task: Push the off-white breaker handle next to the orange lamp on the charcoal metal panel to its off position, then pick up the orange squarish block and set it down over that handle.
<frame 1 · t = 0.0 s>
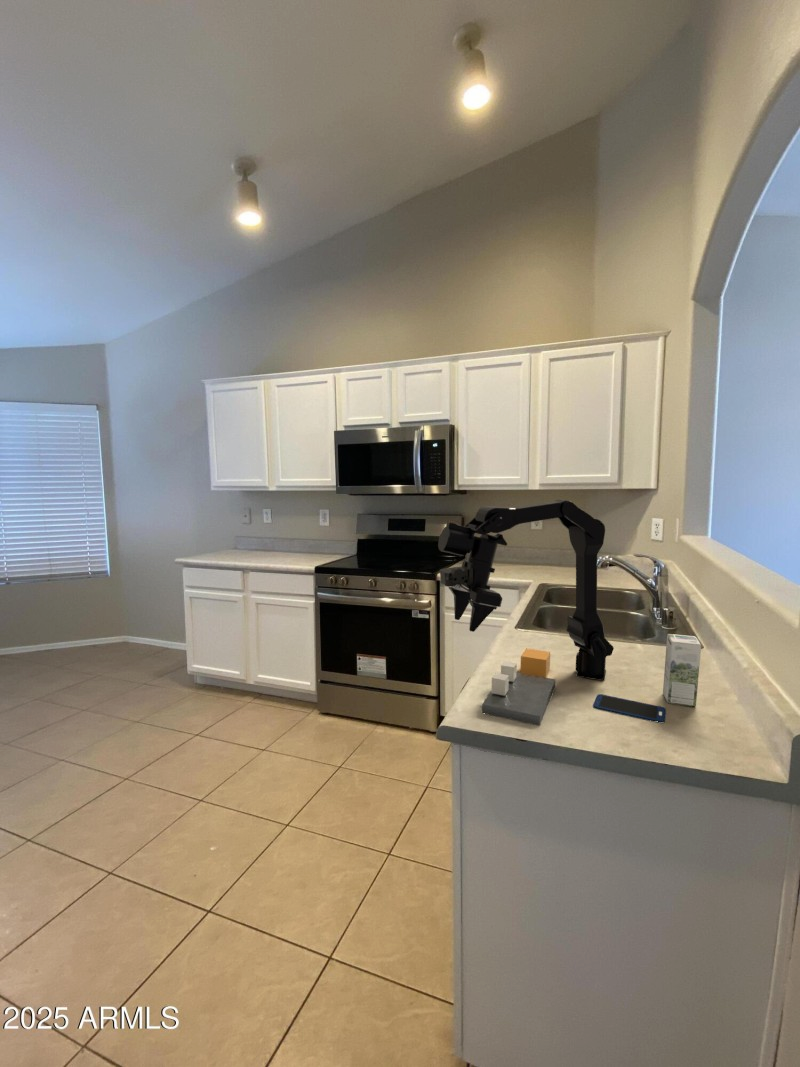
hand: (463, 625, 115), 15 cm above the worktop, tool pointing down, fingers open, 9 cm apart
cell phone: (628, 711, 108), on the worktop
syrup box: (679, 701, 111), on the worktop
orange squarish block: (535, 672, 127), on the worktop
panel: (520, 699, 112), on the worktop
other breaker: (500, 684, 110), point 4 cm above the worktop, slide at 0.0 cm
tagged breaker: (508, 671, 117), point 4 cm above the worktop, slide at 0.0 cm
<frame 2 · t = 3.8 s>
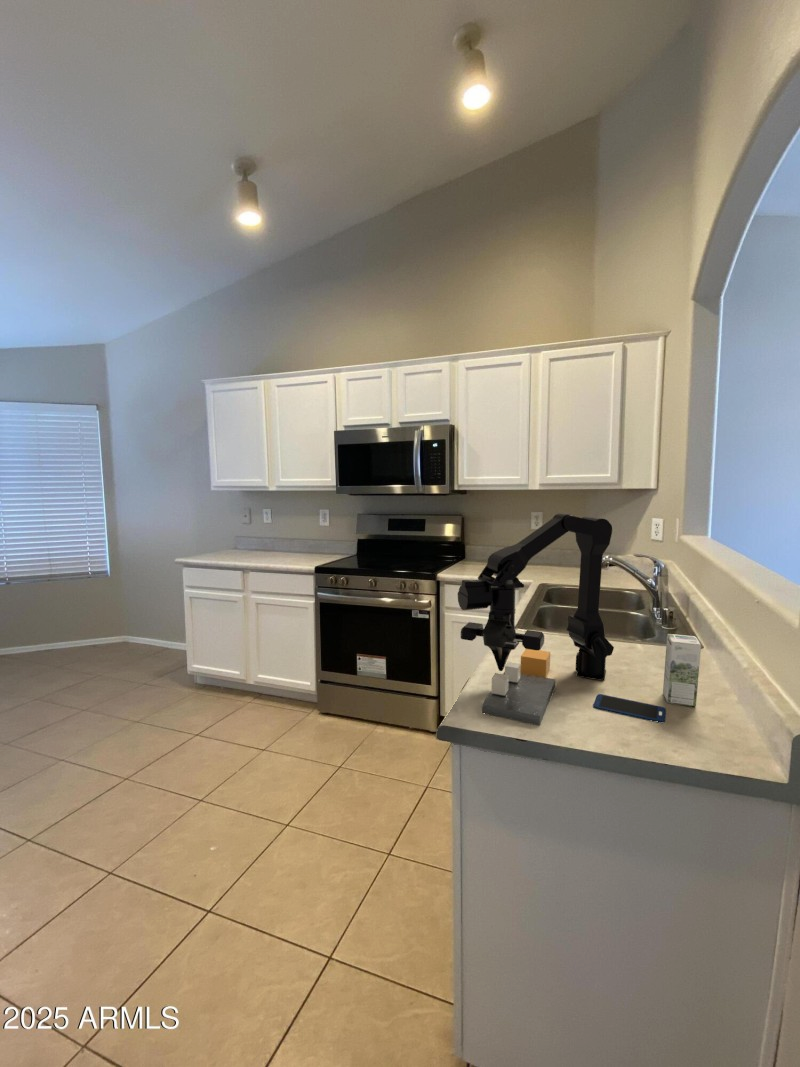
hand: (501, 670, 118), 4 cm above the worktop, tool pointing down, fingers closed
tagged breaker: (512, 671, 117), point 4 cm above the worktop, slide at 0.9 cm, touching gripper
everything else where it was.
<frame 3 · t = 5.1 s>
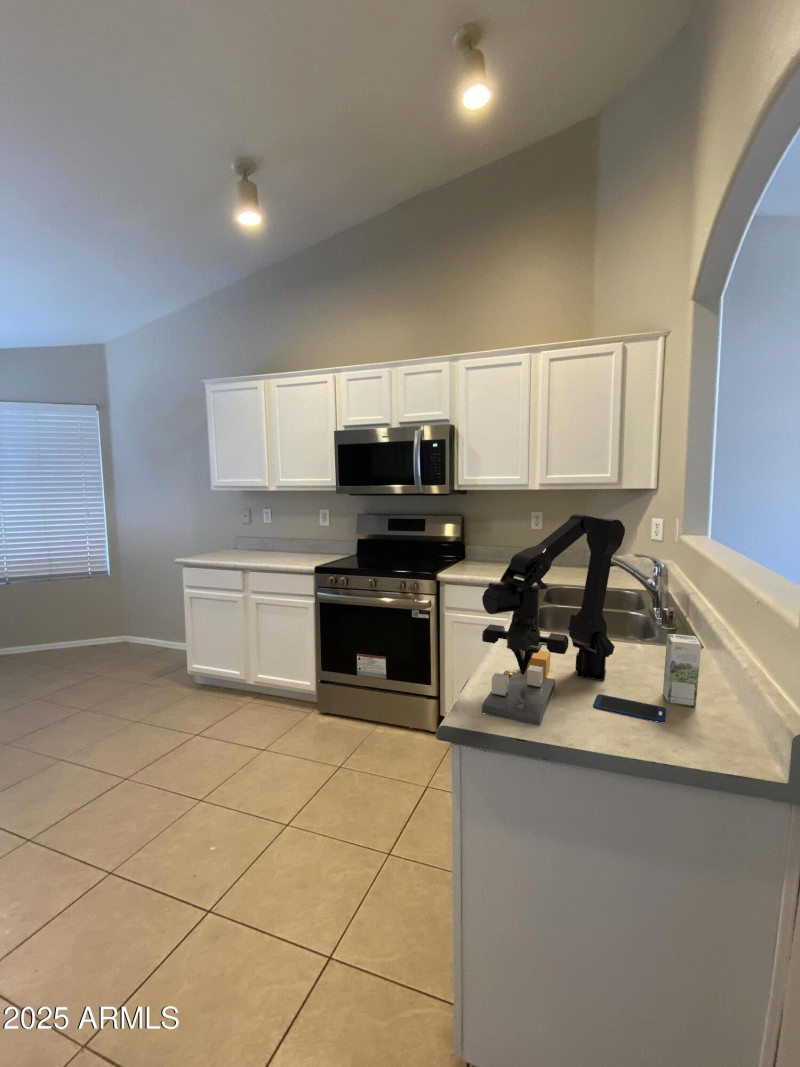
hand: (523, 673, 116), 4 cm above the worktop, tool pointing down, fingers closed
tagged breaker: (534, 675, 115), point 4 cm above the worktop, slide at 6.1 cm, touching gripper
everything else where it was.
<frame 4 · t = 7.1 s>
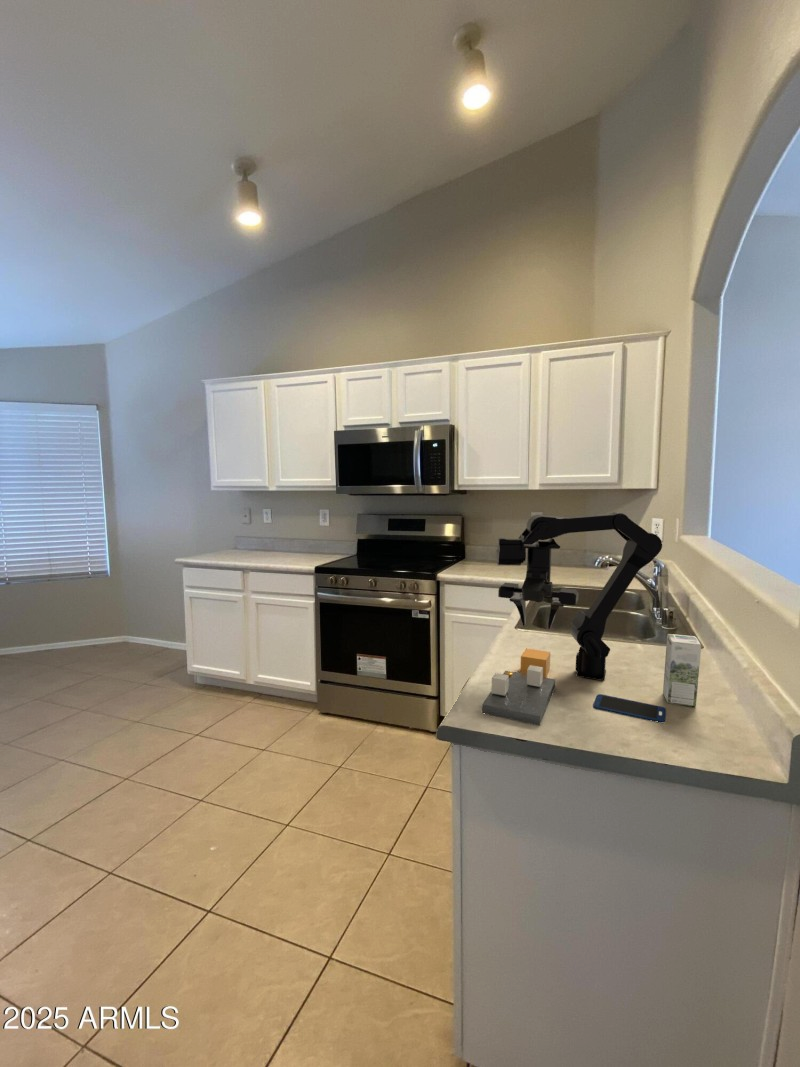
hand: (536, 626, 126), 12 cm above the worktop, tool pointing down, fingers open, 6 cm apart
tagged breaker: (534, 675, 115), point 4 cm above the worktop, slide at 6.1 cm
everything else where it was.
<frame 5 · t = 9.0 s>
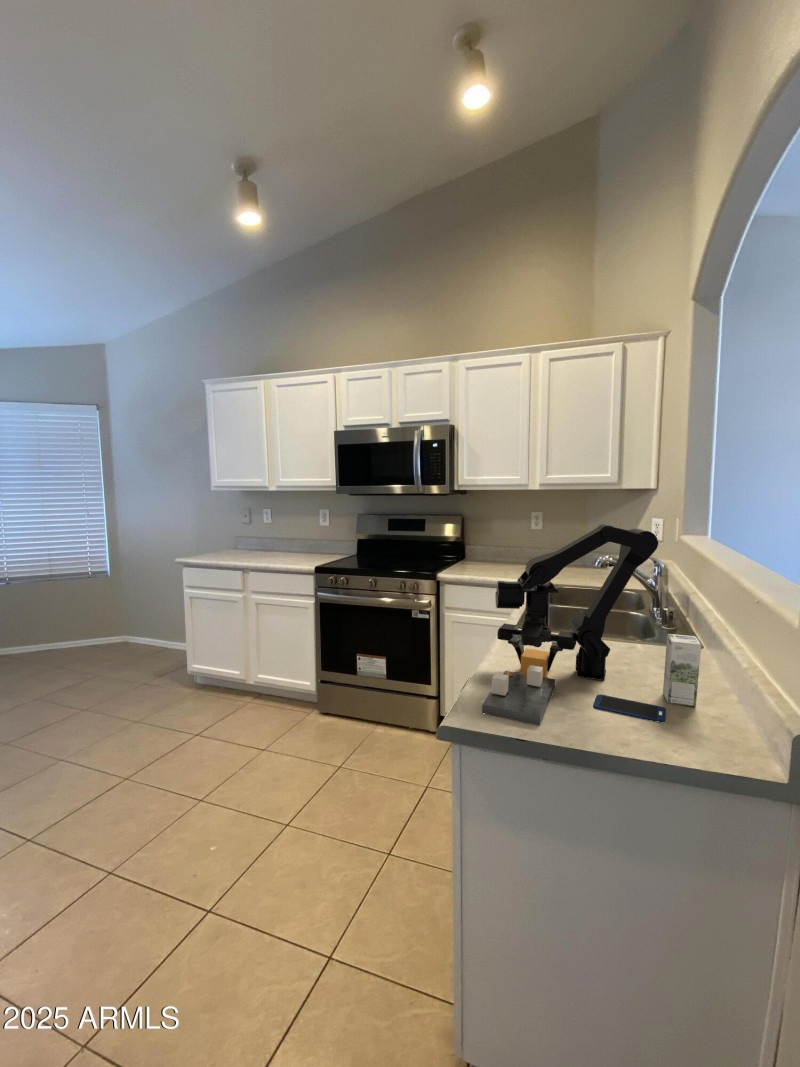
hand: (535, 668, 127), 1 cm above the worktop, tool pointing down, fingers closed on orange squarish block, 6 cm apart
orange squarish block: (535, 672, 127), on the worktop, touching gripper
everything else where it was.
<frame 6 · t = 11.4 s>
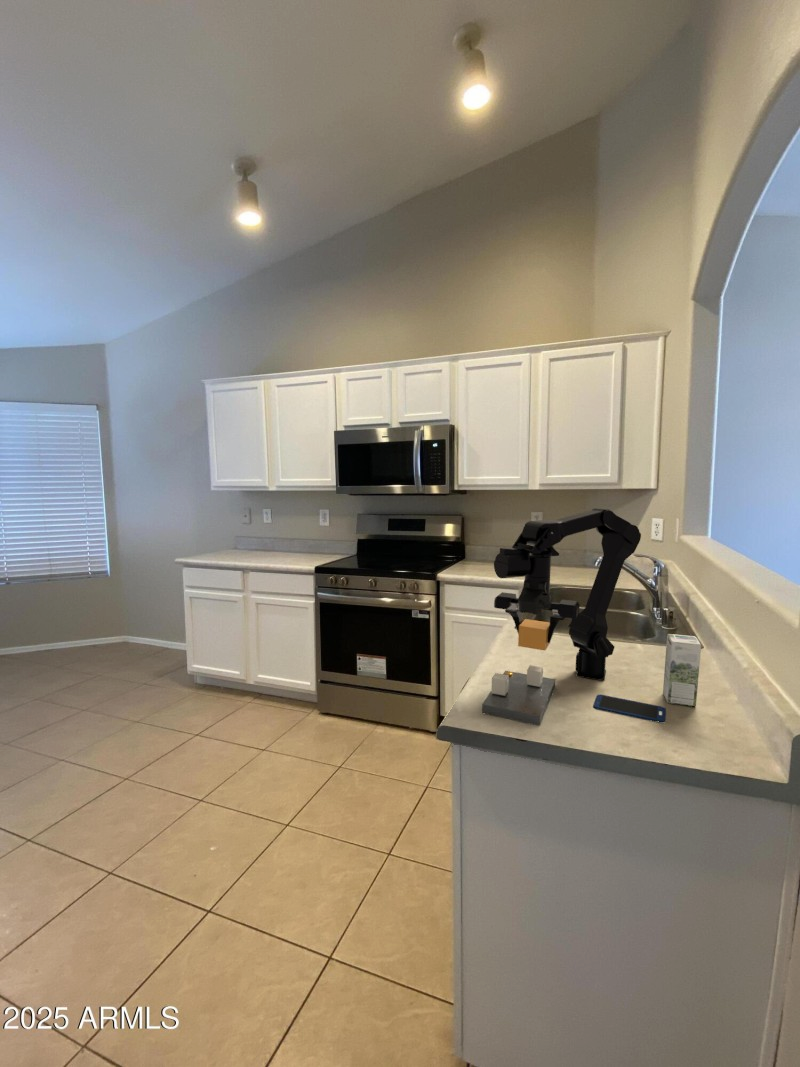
hand: (534, 640, 118), 11 cm above the worktop, tool pointing down, fingers closed on orange squarish block, 6 cm apart
orange squarish block: (534, 644, 118), point 10 cm above the worktop, touching gripper
everything else where it was.
when the fingers open (4 cm above the worktop, at t = 14.2 s): orange squarish block drops 1 cm, resting on panel.
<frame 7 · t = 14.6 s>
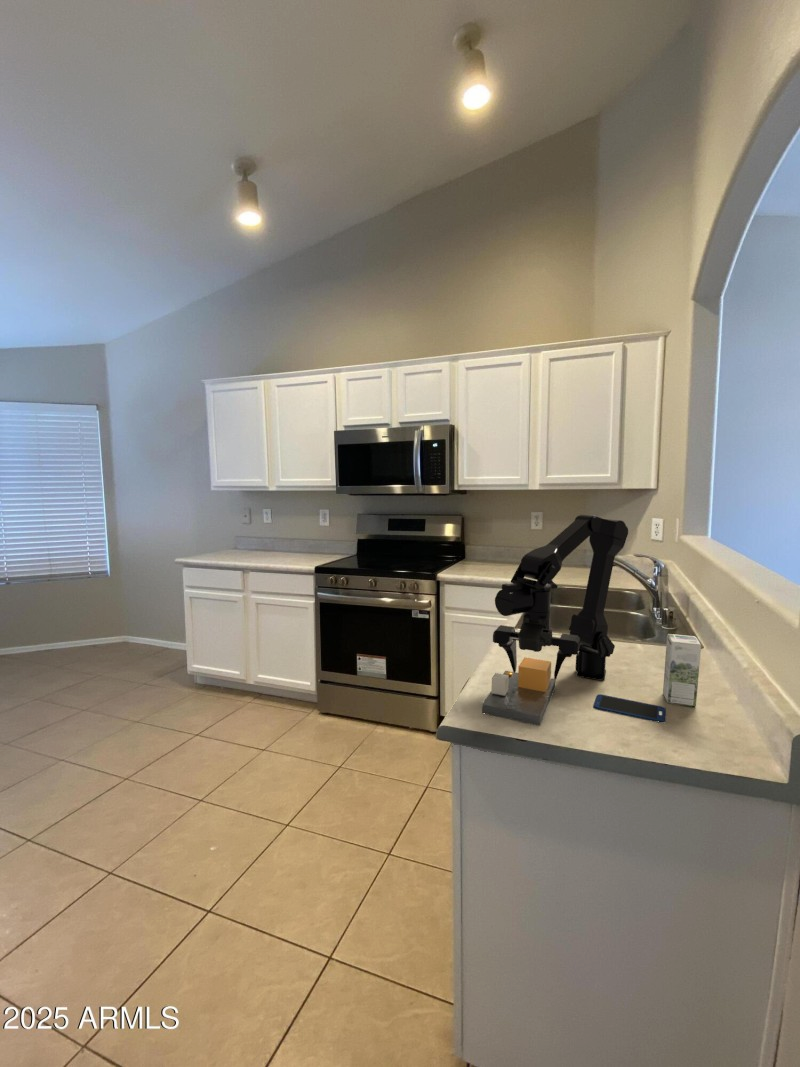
hand: (534, 675, 115), 4 cm above the worktop, tool pointing down, fingers open, 9 cm apart
orange squarish block: (534, 684, 115), point 2 cm above the worktop, touching panel
everything else where it was.
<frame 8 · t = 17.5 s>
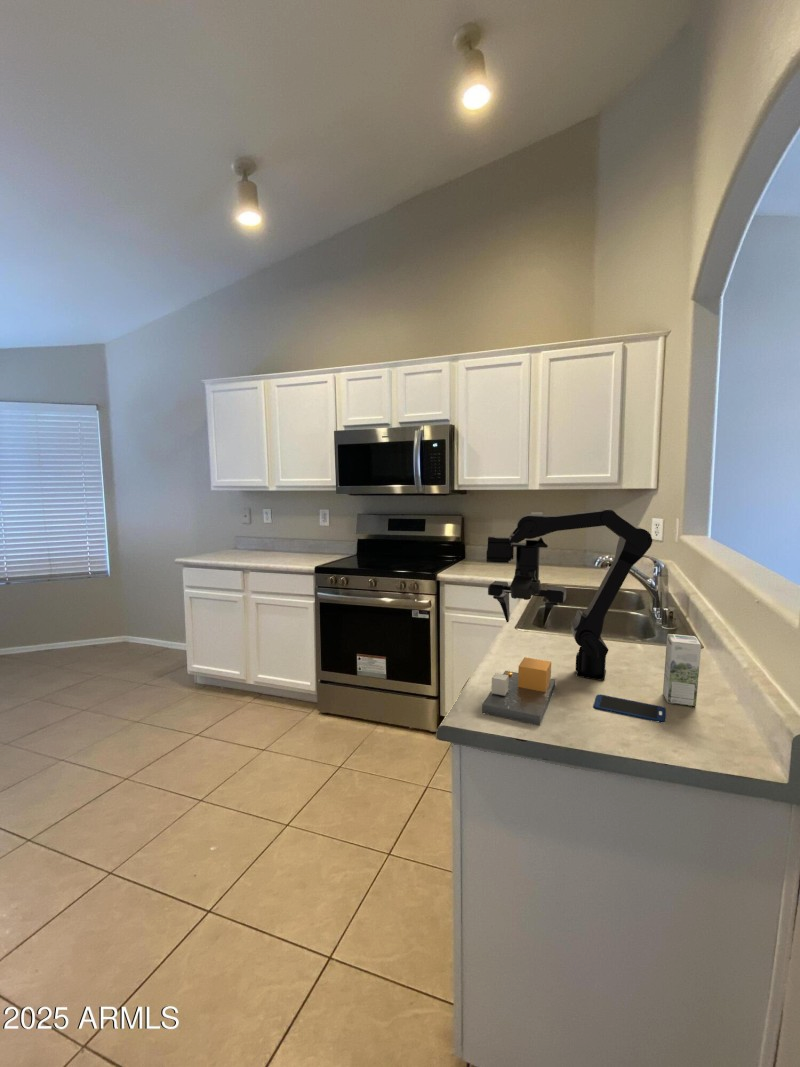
hand: (525, 624, 128), 12 cm above the worktop, tool pointing down, fingers open, 9 cm apart
nothing on the worktop moved.
at the end: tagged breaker slide at 6.1 cm; orange squarish block 0.0 cm from the target spot, point 2.0 cm above the worktop; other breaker slide at 0.0 cm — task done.
